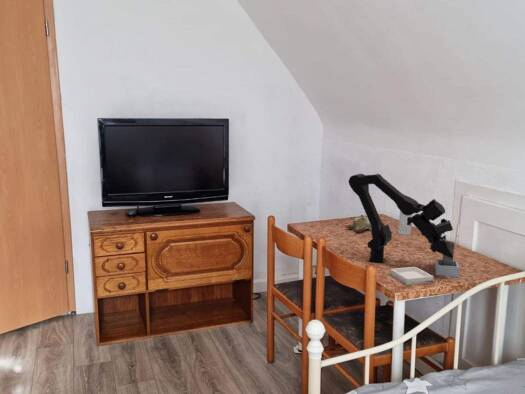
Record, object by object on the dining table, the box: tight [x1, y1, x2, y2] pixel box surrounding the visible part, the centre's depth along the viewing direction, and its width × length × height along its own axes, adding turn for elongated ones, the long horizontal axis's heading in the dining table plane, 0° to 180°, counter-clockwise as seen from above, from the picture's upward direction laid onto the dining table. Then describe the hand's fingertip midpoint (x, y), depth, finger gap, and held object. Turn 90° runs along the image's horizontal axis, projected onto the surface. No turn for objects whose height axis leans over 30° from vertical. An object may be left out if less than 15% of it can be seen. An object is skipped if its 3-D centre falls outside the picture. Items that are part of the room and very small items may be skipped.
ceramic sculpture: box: [343, 214, 371, 233], centre depth 265 cm, size 11×9×15 cm
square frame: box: [434, 258, 460, 278], centre depth 202 cm, size 8×8×4 cm
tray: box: [389, 266, 434, 286], centre depth 194 cm, size 12×12×2 cm
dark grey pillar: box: [441, 240, 455, 266], centre depth 201 cm, size 4×4×12 cm
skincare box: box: [397, 210, 413, 236], centre depth 259 cm, size 6×4×12 cm
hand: (451, 255), depth 201 cm, fingers closed on dark grey pillar, 4 cm apart
